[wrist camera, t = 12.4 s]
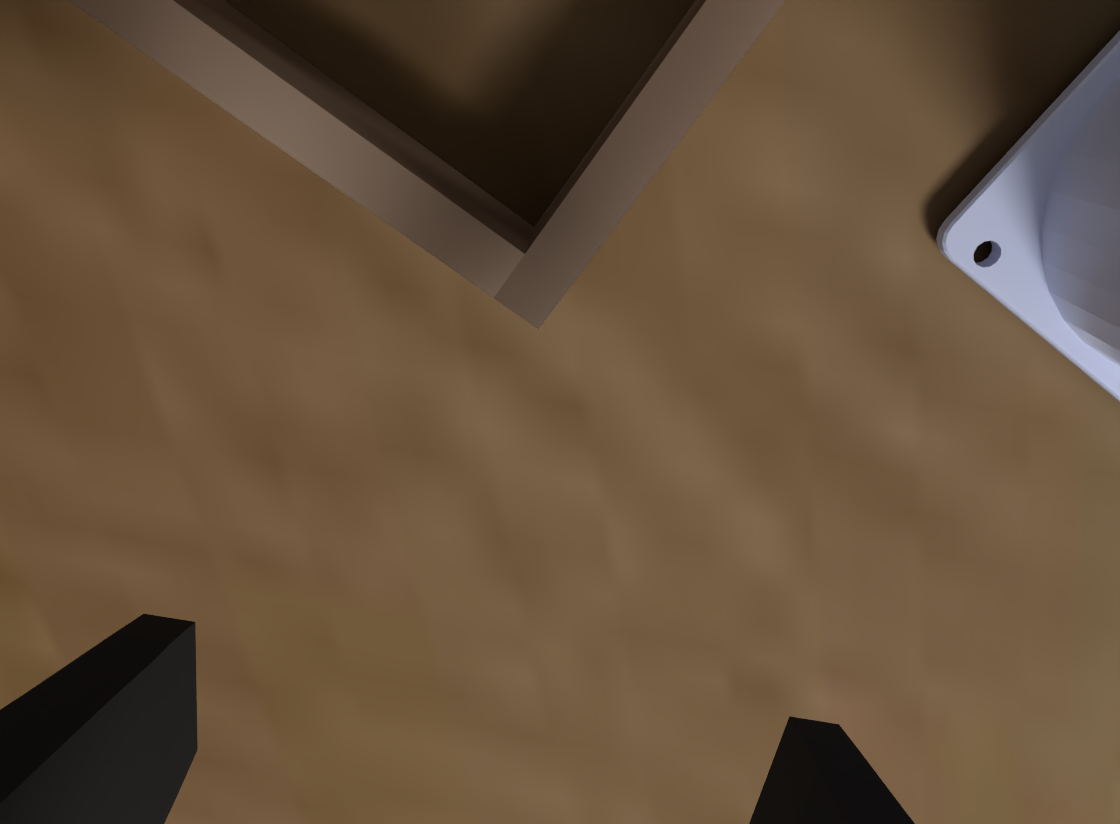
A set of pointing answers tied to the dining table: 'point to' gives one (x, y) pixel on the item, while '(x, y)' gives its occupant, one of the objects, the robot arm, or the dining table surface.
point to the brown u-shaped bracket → (418, 174)
